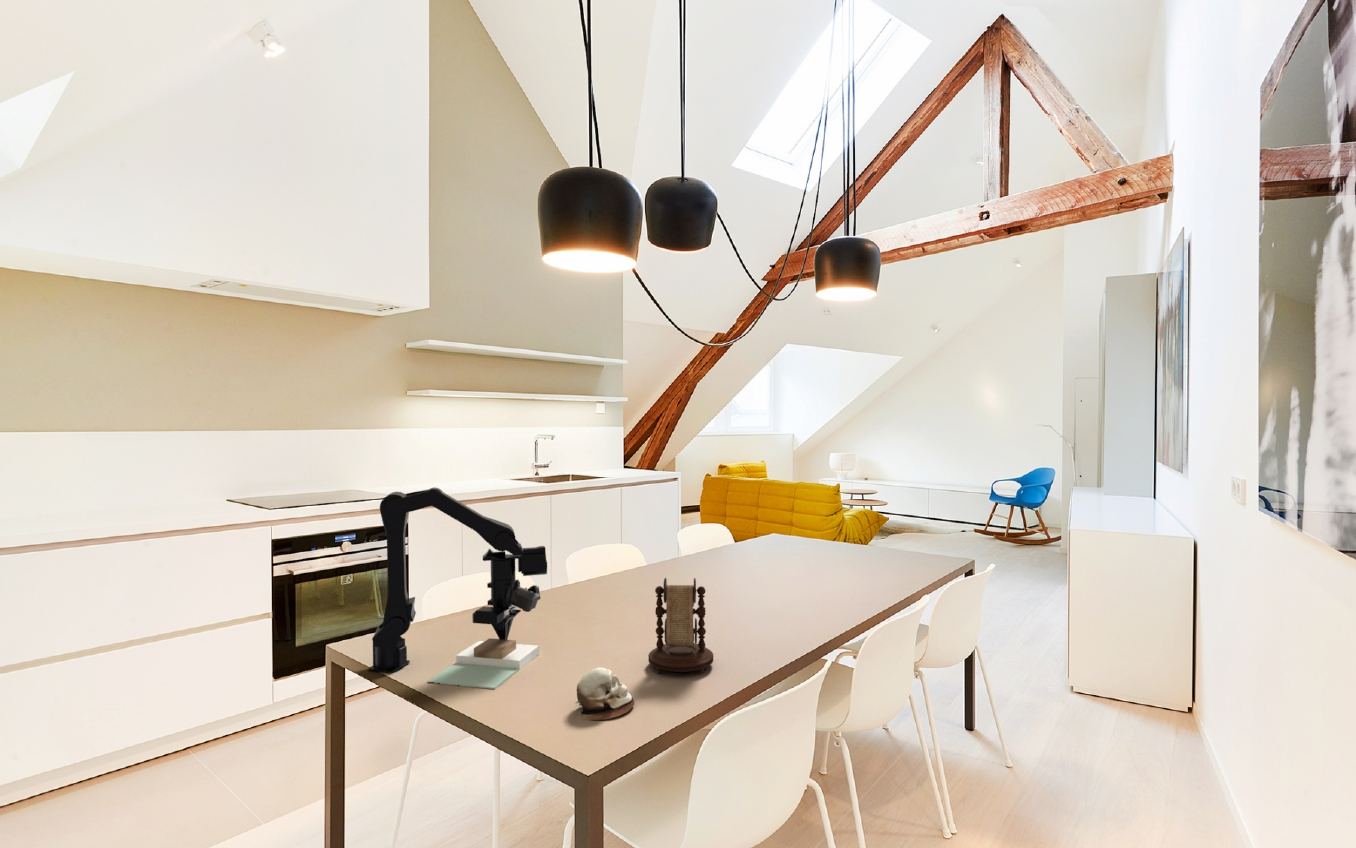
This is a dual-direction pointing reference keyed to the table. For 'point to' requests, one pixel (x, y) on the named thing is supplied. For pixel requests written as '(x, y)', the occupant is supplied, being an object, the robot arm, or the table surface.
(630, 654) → the table surface
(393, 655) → the robot arm
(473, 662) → the plate
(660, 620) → the scroll
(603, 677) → the skull
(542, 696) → the table surface
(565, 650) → the table surface
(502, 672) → the mat
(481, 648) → the tile
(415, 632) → the table surface
